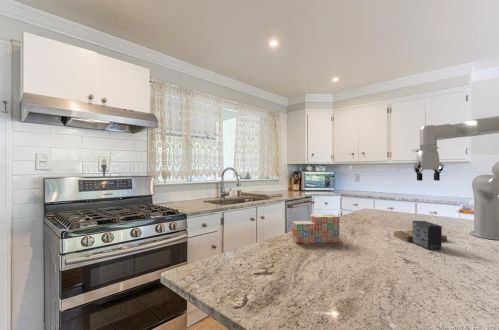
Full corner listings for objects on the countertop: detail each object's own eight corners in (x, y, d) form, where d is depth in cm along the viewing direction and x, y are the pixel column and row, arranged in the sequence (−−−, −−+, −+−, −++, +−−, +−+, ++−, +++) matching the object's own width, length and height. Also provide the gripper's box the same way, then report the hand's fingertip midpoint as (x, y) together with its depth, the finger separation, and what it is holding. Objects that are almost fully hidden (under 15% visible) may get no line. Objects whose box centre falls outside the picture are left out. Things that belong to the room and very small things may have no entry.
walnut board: (430, 235, 130) (430, 230, 130) (446, 241, 120) (446, 235, 120) (393, 236, 129) (393, 231, 129) (407, 242, 119) (407, 236, 119)
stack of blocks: (296, 244, 116) (296, 217, 116) (292, 240, 122) (292, 215, 122) (339, 242, 119) (339, 216, 119) (333, 238, 125) (333, 213, 125)
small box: (442, 250, 108) (443, 225, 108) (428, 250, 108) (428, 225, 108) (425, 242, 118) (425, 220, 118) (411, 242, 118) (411, 220, 118)
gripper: (437, 149, 138) (437, 180, 138) (407, 149, 137) (407, 180, 137) (449, 148, 131) (449, 180, 131) (418, 148, 130) (418, 181, 130)
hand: (428, 180), depth 134 cm, fingers open, 9 cm apart
